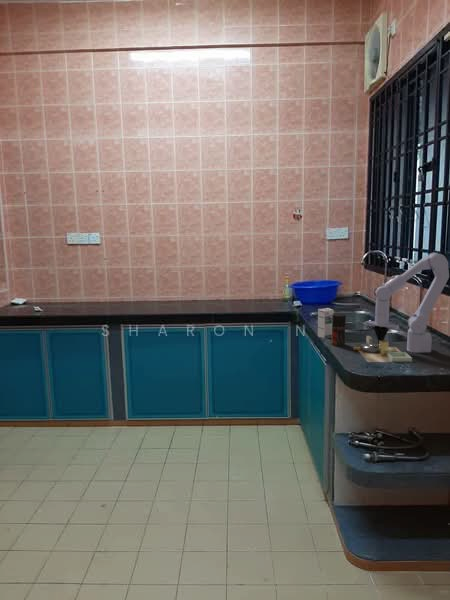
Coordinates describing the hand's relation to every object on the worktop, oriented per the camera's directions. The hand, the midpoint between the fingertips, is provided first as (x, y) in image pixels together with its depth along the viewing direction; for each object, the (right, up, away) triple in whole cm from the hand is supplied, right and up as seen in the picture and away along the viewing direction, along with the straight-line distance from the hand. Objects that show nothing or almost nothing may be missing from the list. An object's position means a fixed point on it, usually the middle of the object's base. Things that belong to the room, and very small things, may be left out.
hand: (380, 343), depth 196 cm
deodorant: (-17, -2, +8) cm, 19 cm away
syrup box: (-19, 0, +25) cm, 31 cm away
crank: (-6, -2, -1) cm, 7 cm away
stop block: (-2, -4, -9) cm, 10 cm away
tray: (+2, -5, -15) cm, 16 cm away
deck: (-2, -5, -8) cm, 10 cm away
